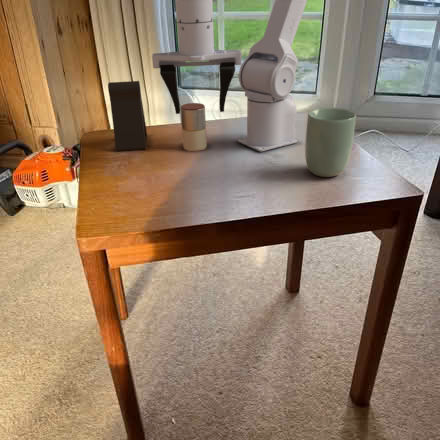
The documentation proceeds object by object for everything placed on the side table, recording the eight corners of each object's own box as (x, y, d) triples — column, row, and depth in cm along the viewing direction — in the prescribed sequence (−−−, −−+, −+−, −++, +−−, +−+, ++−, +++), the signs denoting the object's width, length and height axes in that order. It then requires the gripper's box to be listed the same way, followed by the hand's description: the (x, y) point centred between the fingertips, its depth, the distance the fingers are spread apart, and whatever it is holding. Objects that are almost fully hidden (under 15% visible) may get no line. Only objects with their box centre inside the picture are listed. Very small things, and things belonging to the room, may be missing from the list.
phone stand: (145, 149, 92) (137, 86, 85) (116, 151, 91) (105, 88, 84) (147, 136, 99) (140, 76, 92) (120, 137, 99) (110, 78, 92)
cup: (310, 183, 76) (316, 122, 70) (297, 166, 82) (301, 109, 76) (355, 179, 77) (364, 118, 71) (338, 163, 83) (345, 106, 77)
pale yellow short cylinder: (199, 141, 95) (198, 122, 93) (211, 147, 92) (210, 127, 89) (179, 146, 93) (177, 126, 91) (190, 152, 90) (189, 132, 87)
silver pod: (198, 122, 93) (197, 101, 90) (210, 127, 89) (209, 106, 87) (177, 126, 91) (175, 105, 88) (189, 132, 87) (187, 110, 85)
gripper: (146, 26, 68) (157, 119, 76) (243, 22, 68) (243, 115, 76) (150, 21, 73) (159, 108, 81) (239, 17, 74) (239, 105, 82)
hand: (199, 111), depth 79 cm, fingers open, 7 cm apart
